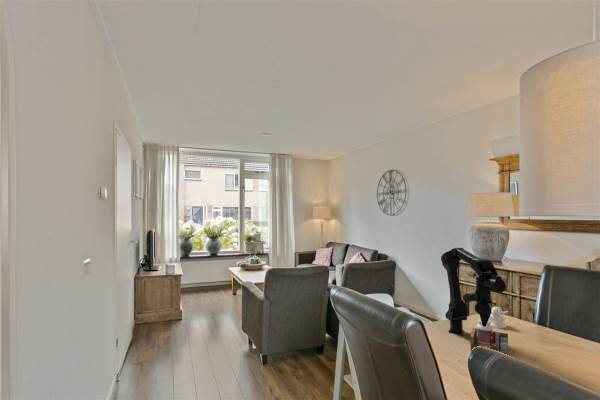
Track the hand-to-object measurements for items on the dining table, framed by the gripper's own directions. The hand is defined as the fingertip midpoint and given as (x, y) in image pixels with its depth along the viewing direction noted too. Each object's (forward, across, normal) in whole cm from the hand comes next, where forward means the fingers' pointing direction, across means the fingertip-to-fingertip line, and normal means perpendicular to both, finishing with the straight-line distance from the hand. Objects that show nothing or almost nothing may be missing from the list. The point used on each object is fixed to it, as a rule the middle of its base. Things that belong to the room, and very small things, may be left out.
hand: (484, 323), depth 145 cm
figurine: (+11, -39, +4) cm, 40 cm away
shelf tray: (+11, -2, +2) cm, 11 cm away
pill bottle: (+10, 0, 0) cm, 10 cm away
